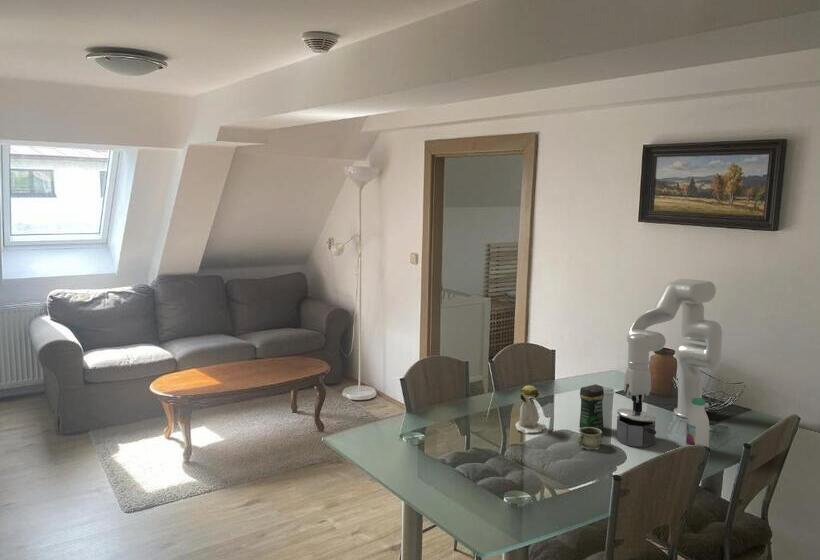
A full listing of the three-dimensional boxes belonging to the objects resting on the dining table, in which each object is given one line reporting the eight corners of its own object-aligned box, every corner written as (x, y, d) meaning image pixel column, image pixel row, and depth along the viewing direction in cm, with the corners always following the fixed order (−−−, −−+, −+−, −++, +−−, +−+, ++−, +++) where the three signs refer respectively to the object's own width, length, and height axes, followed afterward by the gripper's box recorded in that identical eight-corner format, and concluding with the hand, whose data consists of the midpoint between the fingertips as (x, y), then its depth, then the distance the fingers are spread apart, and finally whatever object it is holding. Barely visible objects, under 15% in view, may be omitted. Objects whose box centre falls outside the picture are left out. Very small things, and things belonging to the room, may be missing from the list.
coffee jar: (590, 434, 254) (590, 390, 252) (576, 428, 261) (576, 385, 259) (607, 429, 259) (607, 385, 257) (592, 423, 266) (592, 381, 264)
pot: (634, 428, 258) (634, 409, 257) (670, 445, 240) (670, 424, 239) (604, 435, 253) (605, 415, 252) (640, 452, 235) (640, 431, 234)
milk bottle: (707, 447, 237) (708, 396, 235) (709, 455, 230) (711, 403, 227) (685, 445, 240) (686, 395, 237) (687, 453, 232) (688, 401, 230)
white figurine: (511, 432, 260) (511, 389, 257) (520, 421, 271) (519, 381, 269) (540, 435, 255) (539, 392, 252) (547, 425, 266) (547, 383, 264)
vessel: (585, 453, 236) (585, 437, 236) (570, 444, 245) (570, 429, 244) (610, 447, 241) (610, 431, 240) (595, 439, 249) (595, 424, 248)
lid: (637, 411, 255) (638, 406, 255) (664, 422, 242) (665, 417, 241) (609, 410, 249) (610, 405, 249) (635, 422, 236) (636, 416, 235)
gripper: (646, 361, 249) (645, 405, 251) (616, 365, 243) (615, 411, 246) (660, 365, 242) (659, 411, 244) (630, 370, 236) (629, 417, 239)
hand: (637, 411), depth 245 cm, fingers closed
